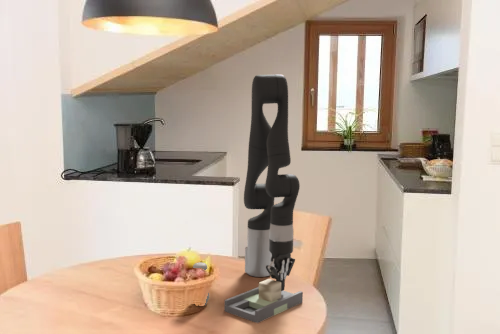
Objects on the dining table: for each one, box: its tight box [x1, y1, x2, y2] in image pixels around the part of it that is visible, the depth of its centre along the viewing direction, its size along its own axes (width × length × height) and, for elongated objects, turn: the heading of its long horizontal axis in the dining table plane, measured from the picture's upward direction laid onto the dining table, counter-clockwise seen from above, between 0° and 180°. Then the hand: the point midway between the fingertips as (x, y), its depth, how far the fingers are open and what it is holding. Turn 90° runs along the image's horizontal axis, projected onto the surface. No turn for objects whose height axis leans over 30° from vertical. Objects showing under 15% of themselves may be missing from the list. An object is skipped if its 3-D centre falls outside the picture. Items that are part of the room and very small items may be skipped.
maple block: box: [258, 278, 281, 302], centre depth 169 cm, size 5×5×5 cm
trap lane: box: [223, 286, 304, 324], centre depth 167 cm, size 13×22×4 cm, turn 139°
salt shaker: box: [192, 261, 210, 306], centre depth 168 cm, size 6×6×13 cm
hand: (280, 290), depth 173 cm, fingers closed
